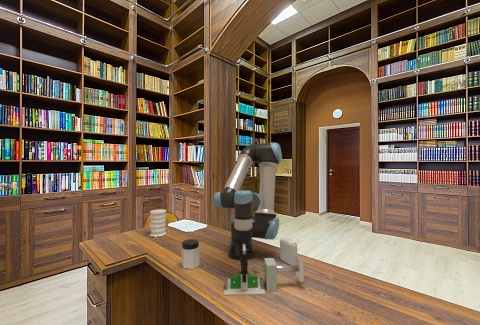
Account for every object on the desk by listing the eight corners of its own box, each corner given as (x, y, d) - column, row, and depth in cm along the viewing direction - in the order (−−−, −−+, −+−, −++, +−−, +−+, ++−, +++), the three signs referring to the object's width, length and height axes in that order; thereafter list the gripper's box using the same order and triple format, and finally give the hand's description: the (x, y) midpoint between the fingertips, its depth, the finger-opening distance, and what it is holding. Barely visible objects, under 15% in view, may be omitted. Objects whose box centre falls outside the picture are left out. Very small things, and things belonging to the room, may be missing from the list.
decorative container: (149, 239, 150) (149, 213, 151) (149, 234, 161) (149, 209, 162) (167, 237, 155) (167, 211, 155) (166, 232, 165) (166, 208, 166)
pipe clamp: (256, 283, 92) (256, 272, 93) (258, 288, 89) (258, 276, 89) (230, 283, 92) (230, 272, 92) (230, 288, 88) (230, 277, 88)
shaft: (262, 275, 94) (262, 256, 94) (299, 274, 94) (299, 255, 94) (264, 282, 88) (263, 262, 88) (303, 281, 88) (303, 261, 88)
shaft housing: (264, 281, 94) (264, 258, 94) (273, 281, 94) (273, 258, 94) (266, 290, 87) (266, 265, 87) (276, 290, 87) (276, 265, 87)
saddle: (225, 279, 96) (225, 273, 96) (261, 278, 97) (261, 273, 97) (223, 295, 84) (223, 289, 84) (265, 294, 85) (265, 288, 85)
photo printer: (278, 259, 116) (278, 236, 117) (285, 257, 119) (284, 234, 119) (292, 267, 107) (292, 241, 108) (298, 265, 110) (298, 240, 110)
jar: (200, 262, 114) (200, 238, 114) (197, 269, 106) (197, 244, 106) (183, 262, 114) (183, 239, 114) (179, 269, 106) (179, 244, 106)
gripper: (254, 234, 82) (255, 298, 81) (250, 223, 100) (251, 275, 99) (234, 234, 82) (234, 298, 81) (234, 223, 100) (234, 275, 99)
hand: (243, 285), depth 90 cm, fingers open, 5 cm apart
